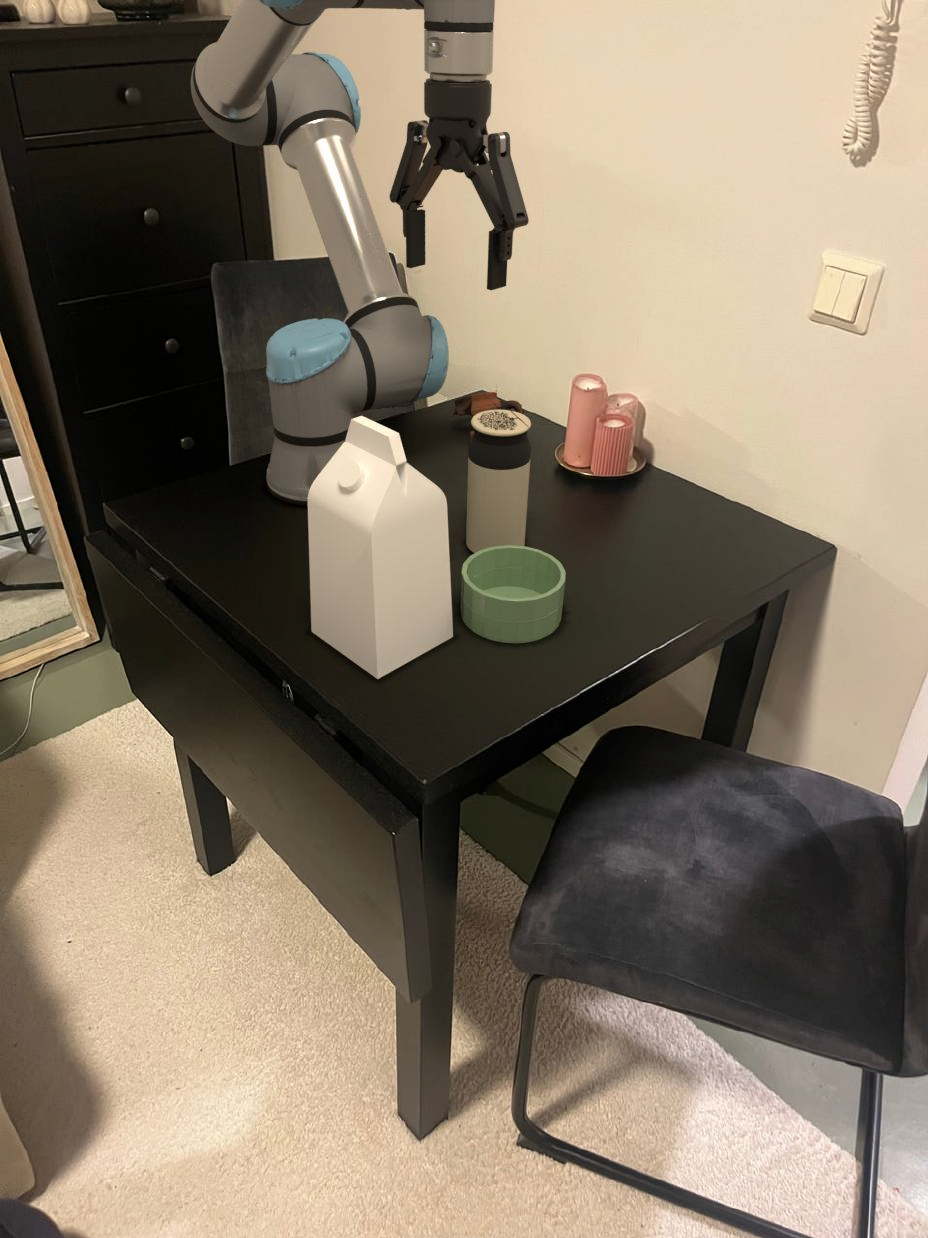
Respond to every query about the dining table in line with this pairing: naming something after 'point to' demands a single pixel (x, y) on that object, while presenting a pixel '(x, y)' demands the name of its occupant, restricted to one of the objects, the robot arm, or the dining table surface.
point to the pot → (512, 593)
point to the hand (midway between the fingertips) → (454, 276)
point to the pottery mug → (483, 405)
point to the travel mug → (498, 480)
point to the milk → (378, 553)
